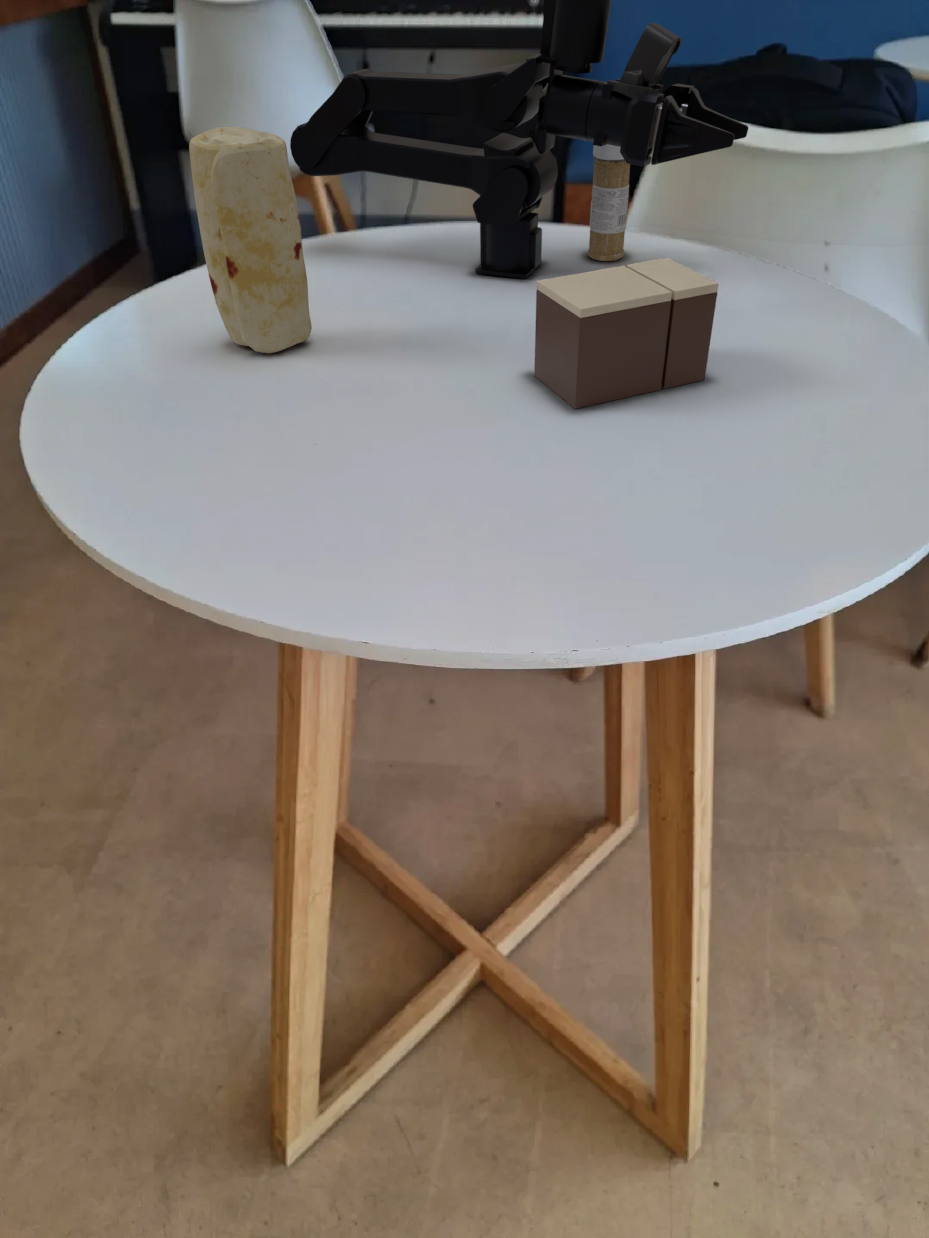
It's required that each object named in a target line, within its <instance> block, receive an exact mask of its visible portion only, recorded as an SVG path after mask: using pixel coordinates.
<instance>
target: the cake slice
mask: <svg viewBox="0 0 929 1238" xmlns="http://www.w3.org/2000/svg"><path fill="white" fill-rule="evenodd" d="M625 267H627V268H629V269H630V270H632V271H634V272H636V273H638V274H640V275H642V276H643V277H645V278H647V279H649V280H651V281H653V282H654V283H656V284H658V285H660V286H662V287H664V288H666V289H667V290H669V291H671V292H672V297H671V307H670V316H669V324H668V333H667V342H666V350H665V359H664V368H663V376H662V385H661V389H663V390H667V389H670V388H675V387H679V386H683V385H687V384H693V383H696V382H702V381H705V380H706V373H707V367H708V359H709V352H710V345H711V338H712V333H713V332H712V331H713V327H714V326H713V325H714V318H715V311H716V305H717V297H718V291H719V282H717V281H716V280H713V279H711V278H709V277H707V276H705V275H703V274H702V273H699V272H698V271H695V270H693V269H691V268H689V267H687V266H685V265H683V264H681V263H679V262H678V261H676V260H673V259H671V258H669V257H664V258H658V259H653V260H646V261H642V262H634V263H629V264H626V266H625Z"/></svg>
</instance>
